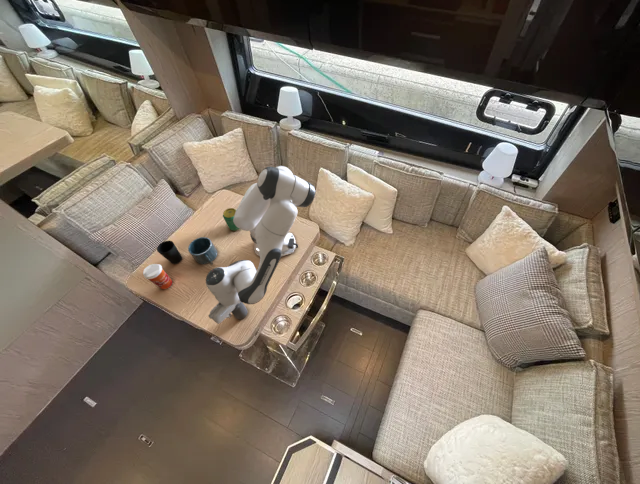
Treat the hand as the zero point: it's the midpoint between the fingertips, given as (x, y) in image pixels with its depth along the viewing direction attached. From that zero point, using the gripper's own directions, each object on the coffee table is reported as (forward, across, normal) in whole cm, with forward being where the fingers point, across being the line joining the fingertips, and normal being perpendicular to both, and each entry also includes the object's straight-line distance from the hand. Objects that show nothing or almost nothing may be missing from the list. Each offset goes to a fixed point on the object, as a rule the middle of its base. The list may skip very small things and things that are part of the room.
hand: (238, 307), depth 124 cm
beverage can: (+7, +34, +42) cm, 55 cm away
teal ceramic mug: (+7, +11, +38) cm, 41 cm away
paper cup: (+7, -10, +42) cm, 44 cm away
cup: (+7, +1, +51) cm, 51 cm away
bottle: (+7, 0, +1) cm, 7 cm away
